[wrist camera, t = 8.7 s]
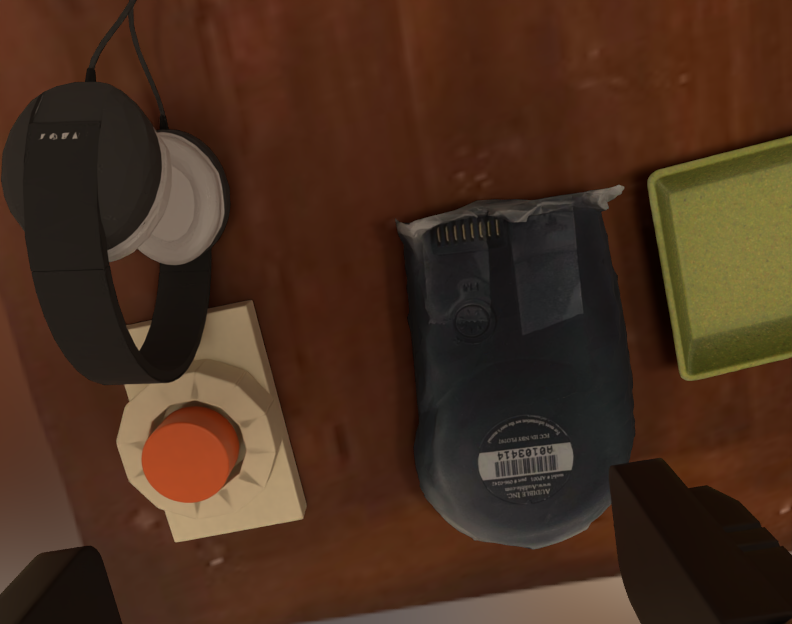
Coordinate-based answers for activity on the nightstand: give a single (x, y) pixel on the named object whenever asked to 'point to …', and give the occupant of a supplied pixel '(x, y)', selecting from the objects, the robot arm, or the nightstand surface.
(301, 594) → the nightstand surface
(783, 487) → the nightstand surface
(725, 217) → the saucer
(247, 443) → the control block
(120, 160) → the headphones
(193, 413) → the button
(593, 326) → the electronic device
